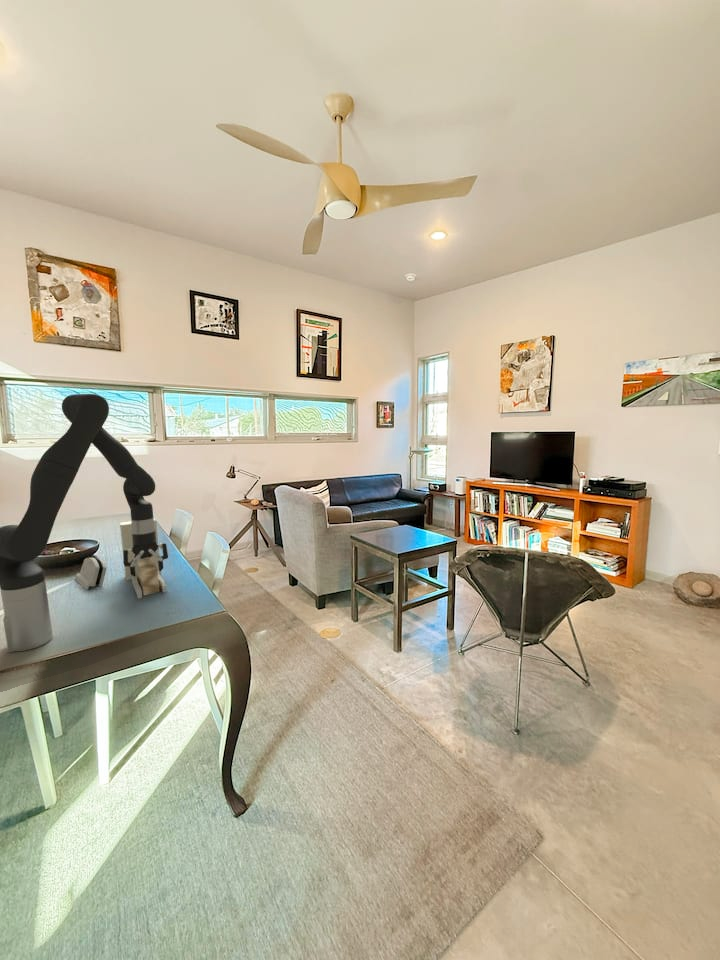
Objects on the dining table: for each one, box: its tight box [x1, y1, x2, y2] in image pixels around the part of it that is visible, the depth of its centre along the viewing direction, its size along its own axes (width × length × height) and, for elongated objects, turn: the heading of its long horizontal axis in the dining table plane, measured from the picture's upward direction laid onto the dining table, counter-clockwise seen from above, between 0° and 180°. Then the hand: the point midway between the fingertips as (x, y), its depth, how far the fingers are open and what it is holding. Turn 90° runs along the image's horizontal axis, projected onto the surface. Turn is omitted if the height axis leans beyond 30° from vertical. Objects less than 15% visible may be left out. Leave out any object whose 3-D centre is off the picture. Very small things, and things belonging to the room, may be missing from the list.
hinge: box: [74, 557, 107, 591], centre depth 149 cm, size 17×5×10 cm, turn 49°
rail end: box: [136, 558, 160, 596], centre depth 143 cm, size 5×15×9 cm, turn 36°
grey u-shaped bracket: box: [119, 517, 168, 599], centre depth 145 cm, size 12×26×22 cm, turn 36°
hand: (147, 573), depth 143 cm, fingers open, 8 cm apart
